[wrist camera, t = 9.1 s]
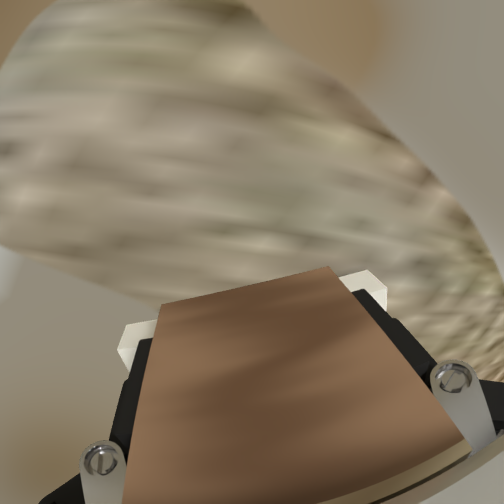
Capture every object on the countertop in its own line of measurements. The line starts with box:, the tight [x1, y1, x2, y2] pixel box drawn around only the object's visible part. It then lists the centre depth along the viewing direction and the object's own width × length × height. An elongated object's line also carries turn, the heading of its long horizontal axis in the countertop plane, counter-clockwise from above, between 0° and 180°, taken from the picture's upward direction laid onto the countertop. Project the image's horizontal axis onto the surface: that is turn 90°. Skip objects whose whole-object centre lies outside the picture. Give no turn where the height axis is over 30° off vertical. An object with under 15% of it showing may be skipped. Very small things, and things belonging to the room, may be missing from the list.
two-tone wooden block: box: [122, 266, 473, 504], centre depth 7 cm, size 6×4×8 cm, turn 101°
